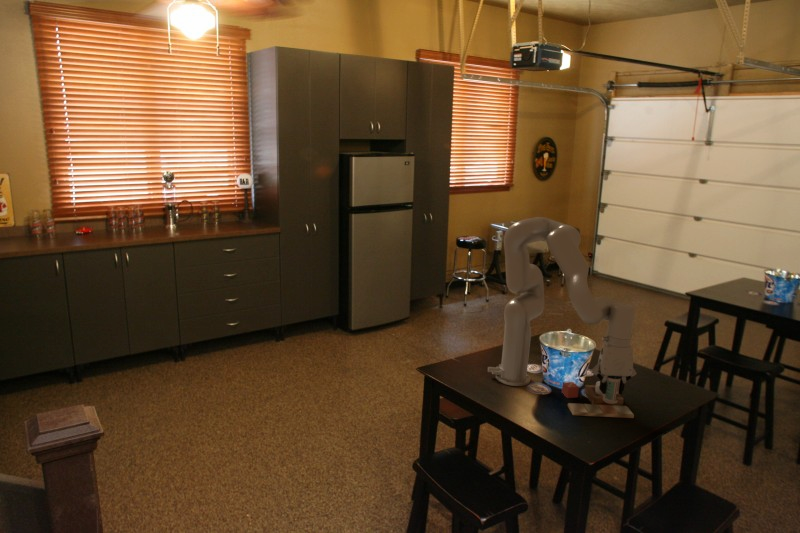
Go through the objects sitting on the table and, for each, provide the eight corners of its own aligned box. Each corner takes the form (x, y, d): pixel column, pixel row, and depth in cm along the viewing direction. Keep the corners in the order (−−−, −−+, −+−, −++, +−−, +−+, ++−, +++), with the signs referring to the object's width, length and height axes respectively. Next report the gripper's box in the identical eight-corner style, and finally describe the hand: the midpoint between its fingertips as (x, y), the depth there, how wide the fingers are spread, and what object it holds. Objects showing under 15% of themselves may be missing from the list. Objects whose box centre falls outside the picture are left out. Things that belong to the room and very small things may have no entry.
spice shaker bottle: (615, 398, 197) (620, 365, 194) (619, 405, 192) (624, 371, 189) (600, 397, 197) (605, 364, 194) (604, 404, 192) (608, 370, 189)
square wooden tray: (593, 406, 199) (594, 397, 199) (584, 392, 209) (585, 384, 208) (622, 407, 200) (623, 399, 199) (612, 394, 209) (613, 386, 209)
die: (567, 398, 204) (568, 387, 203) (561, 392, 208) (562, 382, 207) (577, 397, 205) (579, 386, 204) (571, 392, 209) (572, 381, 208)
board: (573, 415, 192) (573, 411, 192) (567, 405, 199) (568, 402, 198) (633, 418, 193) (634, 414, 192) (626, 408, 199) (626, 405, 199)
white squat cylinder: (597, 401, 201) (599, 388, 200) (591, 393, 207) (593, 380, 206) (614, 402, 201) (616, 389, 200) (608, 394, 207) (610, 381, 206)
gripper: (596, 343, 186) (588, 396, 190) (649, 346, 186) (641, 398, 190) (588, 335, 193) (581, 386, 197) (639, 337, 193) (632, 388, 198)
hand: (610, 392), depth 194 cm, fingers closed on spice shaker bottle, 4 cm apart
